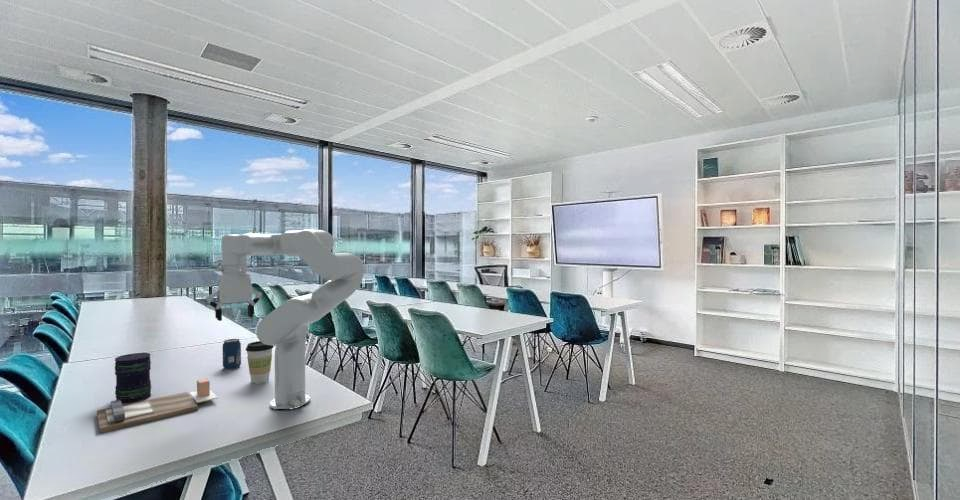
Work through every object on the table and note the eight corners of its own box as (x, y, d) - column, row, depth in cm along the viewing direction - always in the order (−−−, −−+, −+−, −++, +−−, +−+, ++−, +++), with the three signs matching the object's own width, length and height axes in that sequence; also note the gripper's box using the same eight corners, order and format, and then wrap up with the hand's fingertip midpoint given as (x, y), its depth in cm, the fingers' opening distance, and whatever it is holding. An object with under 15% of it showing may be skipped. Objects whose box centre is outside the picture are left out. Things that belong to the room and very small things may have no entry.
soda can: (223, 366, 188) (223, 339, 188) (241, 364, 191) (241, 337, 191) (221, 370, 182) (221, 342, 182) (240, 368, 185) (240, 341, 185)
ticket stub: (217, 398, 146) (217, 382, 146) (196, 402, 142) (196, 386, 142) (209, 389, 155) (209, 374, 155) (189, 393, 150) (189, 378, 150)
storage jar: (156, 396, 152) (156, 355, 151) (122, 406, 143) (121, 361, 143) (143, 391, 157) (143, 351, 156) (110, 400, 148) (109, 357, 148)
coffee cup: (253, 387, 162) (252, 347, 161) (241, 381, 168) (240, 344, 167) (278, 380, 169) (278, 342, 169) (266, 375, 175) (266, 339, 175)
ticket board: (198, 410, 140) (197, 398, 139) (99, 433, 123) (99, 420, 123) (187, 395, 152) (186, 385, 152) (96, 415, 136) (96, 402, 136)
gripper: (208, 271, 140) (209, 323, 141) (264, 269, 152) (265, 316, 153) (203, 270, 146) (203, 320, 146) (257, 268, 158) (258, 314, 158)
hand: (235, 318), depth 149 cm, fingers open, 9 cm apart
